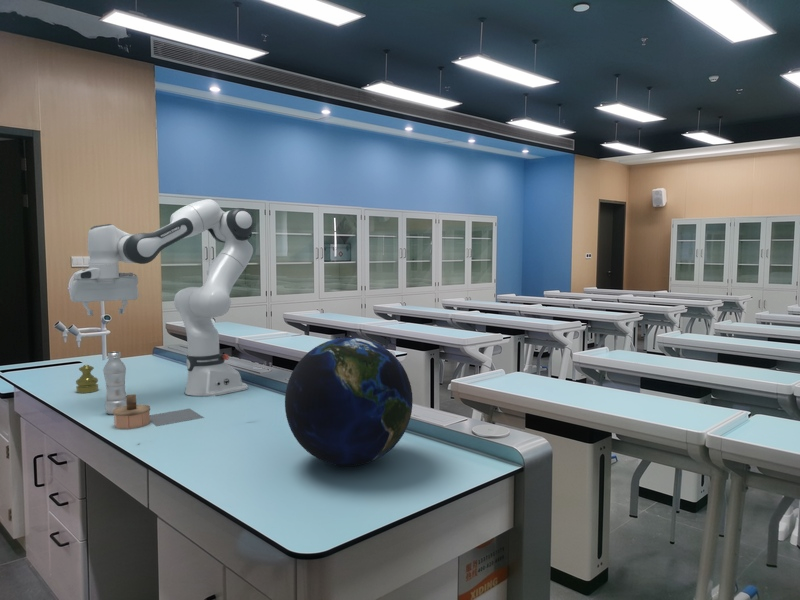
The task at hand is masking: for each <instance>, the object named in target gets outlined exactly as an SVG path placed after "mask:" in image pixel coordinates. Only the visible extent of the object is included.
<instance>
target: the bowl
mask: <svg viewBox="0 0 800 600" xmlns="http://www.w3.org/2000/svg"><path fill="white" fill-rule="evenodd" d="M150 415H151V414H150V411H148V412H146V413H143V414H139V415H132V416H116V415H113V424H114V425H113V426H114V427H115V428H116V429H118V430H119V429H120V430H121V429H122V430H129V429H130V430H131V429H136V428H141V427H144V426H146V425H149V424H150V423H151V422H150Z"/></svg>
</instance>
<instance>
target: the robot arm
mask: <svg viewBox="0 0 800 600" xmlns="http://www.w3.org/2000/svg"><path fill="white" fill-rule="evenodd" d="M254 219H255V218H254V216H253V214H252V212H251V211H250V210H248V209H246V208H244V207H236V208H234V207H233V208H232V209H231V210H227V211H224V210H222V208H221V206H220V205H219V203H218V202H217V201H215V200H213V199H210V198H208V199H202V200H198V201H195V202H191V203H189V204H187V205H185V206H182V207H181V208H178V209H177V210H176V211H174V212H173V213H172V214H171V215H170V218H169V224H166V225H165V226H163V227H161V228H159V229H157V230H154V231H153V232H139V233H134V234H131V233H128V232H126V231H124V230H121V229H120V228H118V227H116V226H115V225H114V224H112V223H108V224H106V223H105V224H98V225H94V226H92V227H91V228H90V229H89V230H88V233H87V234H88V235H87V253H88V254H89V261H88V268H87V269H86V268H85V269H82V270H80V271H79V270H78V271H76V272H74V273H73V278H74V280H73V281H72V282H71V284H70V292H69V293H70V294H69V295H70V296H69V298H70V301H71V302H72V303H82V306H83V308H85V310H86V314H87V316H88V317H92V316H94V310H93V309H90V308H89V306H90V303H91V302H112V301H121V303H122V305H121V308H120V307H119V308H118V314H119V315H123V314H125V309H126V307H127V305H128V301H132V300H133V301H135V300H138V298H139V296H140V295H139V289H138V283H139V277H138V275H137V274H135V273H133V272H120V268H119V262H121V263H128V264H141V265H145V264H148V263H150V262H152V261H154V260H155V259H156V257H157V256H158V255H159V254H160V252H162V250H164V249H165V248H168V247H169V246H171V245H173V244H175V243H177V242H178V241H180V240H184V239H189V238H192V237H194V236H197V235H199V234H201V233H203V232H205V231H208V232H209V233H210V235H211V237H213V238H212V239H214V240H215V241H217V242H219V243H223V244H224V246H223V248H222V249H221V251H220V252H219V254H217V256H216V257H215V259H214V260H213V261H212V262H211V264H210V265H209V267H207V270H206V274H207V278H206V280H205V282H204V284H203V285H202V286H188V287H186V288H185V287H184V288H183V289H181V290H179V291H177V292H176V294H175V295H174V298H173V304H174V308H175V309H176V310H177V311H178V313H179V314H180V316H181V318H182V322H183V325H184V328H185V333H186V340H187V341H186V342H187V343H186V344H187V354H186V370H187V378H186V379H187V381H186V387H185V391H184V394H185V395H186V396H187V395H188V396H192V397H193V396H200V397H202V396H203V397H204V396H205V397H212V396H215V397H216V396H220V395H221V396H222V395H226V394H230V393H235V392H241V391H244V390H248V389H249V386H248V385H249V384H247V383H245V382H243V381H242V377H241V373H240V372H239V371H238V370H237V369H235V368H234V367H232V366H231V365H230V364H228V363H227V362H225V361H228V360H229V359H230V357H229V354H226V353H224V354H223V353H222V352H220V333H219V331H218V329H217V328H216V327H215V325H214V324H213V320H212V318H213V319H214V318H219V317H221V316H224V315H226V314H227V313H229V310H230V308H231V305H232V304H231V303H232V301H231V298H230V296H231V295H230V294H231V292H232V289H233V287H234V285H236V283H237V281H238V279H239V278H240V276H241V275H242V273H243V272H244V270H245V269H246V267H247V266H248V264H249V262H250V260H251V258H252V256H253V253H254V248H253V246H252V244H251V243H250V242H249V239H251V237H252V236H253V229H254V226H255V220H254Z"/></svg>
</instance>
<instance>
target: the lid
mask: <svg viewBox="0 0 800 600" xmlns="http://www.w3.org/2000/svg"><path fill="white" fill-rule="evenodd" d="M126 401H127V406H123V407H119V408H116V409H114V410H113V415H112V416H114V415H116V416H132V415H139V414H143V413H146V412H148V411H149V412H150V411H151V406H150V405H148V404H137V394H132V393H131V394H126Z"/></svg>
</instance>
